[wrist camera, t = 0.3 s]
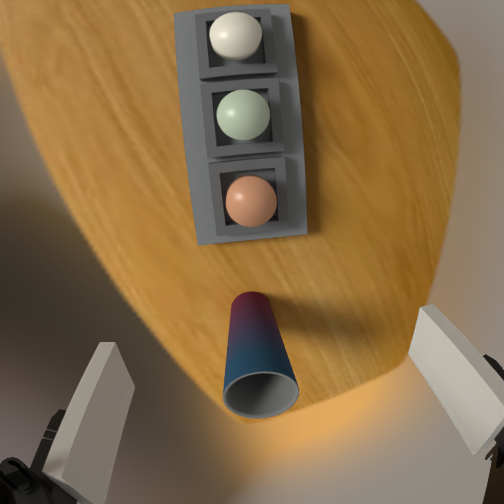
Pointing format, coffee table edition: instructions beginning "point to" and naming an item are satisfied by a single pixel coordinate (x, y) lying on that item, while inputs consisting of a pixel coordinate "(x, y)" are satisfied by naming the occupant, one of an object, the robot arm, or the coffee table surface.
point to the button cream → (235, 36)
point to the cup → (257, 361)
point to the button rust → (250, 200)
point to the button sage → (243, 114)
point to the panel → (233, 150)
